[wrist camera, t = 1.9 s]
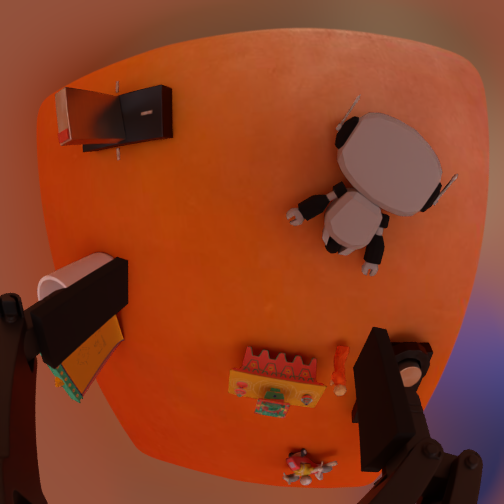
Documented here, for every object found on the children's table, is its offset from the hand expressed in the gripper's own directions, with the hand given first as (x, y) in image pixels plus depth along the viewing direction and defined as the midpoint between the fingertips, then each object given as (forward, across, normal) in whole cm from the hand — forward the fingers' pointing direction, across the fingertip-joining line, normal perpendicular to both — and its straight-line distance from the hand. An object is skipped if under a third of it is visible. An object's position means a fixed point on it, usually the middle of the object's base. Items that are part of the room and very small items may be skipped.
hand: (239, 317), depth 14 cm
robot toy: (+19, +8, +6) cm, 21 cm away
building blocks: (+18, -5, -17) cm, 25 cm away
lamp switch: (+15, +19, -12) cm, 27 cm away
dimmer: (+18, -20, +9) cm, 29 cm away
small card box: (+16, -20, +9) cm, 27 cm away
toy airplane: (+19, +16, -40) cm, 47 cm away
